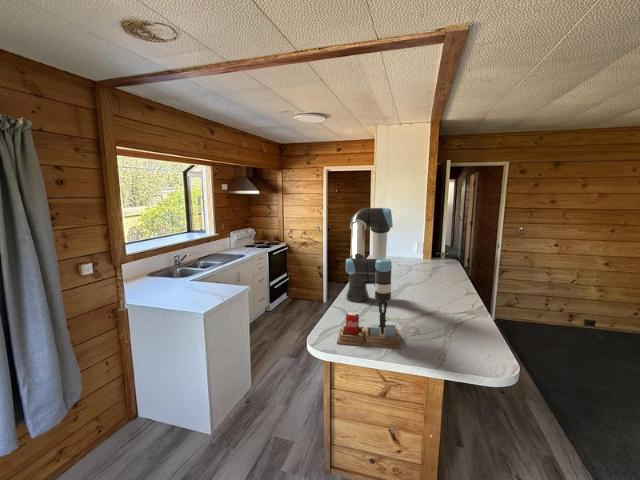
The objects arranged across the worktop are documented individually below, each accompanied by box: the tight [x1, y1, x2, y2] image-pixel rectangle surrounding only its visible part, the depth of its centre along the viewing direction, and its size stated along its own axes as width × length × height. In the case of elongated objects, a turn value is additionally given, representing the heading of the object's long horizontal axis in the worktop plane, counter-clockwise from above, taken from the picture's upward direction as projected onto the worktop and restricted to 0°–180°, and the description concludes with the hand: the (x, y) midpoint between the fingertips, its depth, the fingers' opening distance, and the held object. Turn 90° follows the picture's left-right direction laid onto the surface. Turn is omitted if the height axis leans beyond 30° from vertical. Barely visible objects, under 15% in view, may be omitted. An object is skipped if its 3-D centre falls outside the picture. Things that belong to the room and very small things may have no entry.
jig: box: [336, 324, 402, 349], centre depth 155 cm, size 14×30×4 cm, turn 80°
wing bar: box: [369, 323, 397, 338], centre depth 154 cm, size 4×12×6 cm, turn 80°
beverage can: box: [345, 310, 360, 336], centre depth 156 cm, size 6×6×12 cm
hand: (382, 336), depth 154 cm, fingers closed on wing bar, 4 cm apart
